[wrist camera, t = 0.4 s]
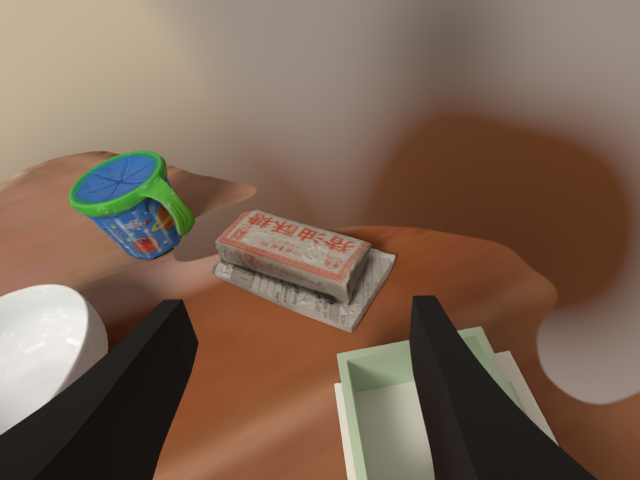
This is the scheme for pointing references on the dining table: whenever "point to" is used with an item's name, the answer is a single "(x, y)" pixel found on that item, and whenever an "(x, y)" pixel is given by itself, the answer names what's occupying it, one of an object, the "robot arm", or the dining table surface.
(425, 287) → the dining table surface
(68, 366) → the cereal bowl
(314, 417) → the dining table surface
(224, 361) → the dining table surface
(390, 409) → the two-tone hollow container
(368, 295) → the packaged product
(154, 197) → the snack cup
